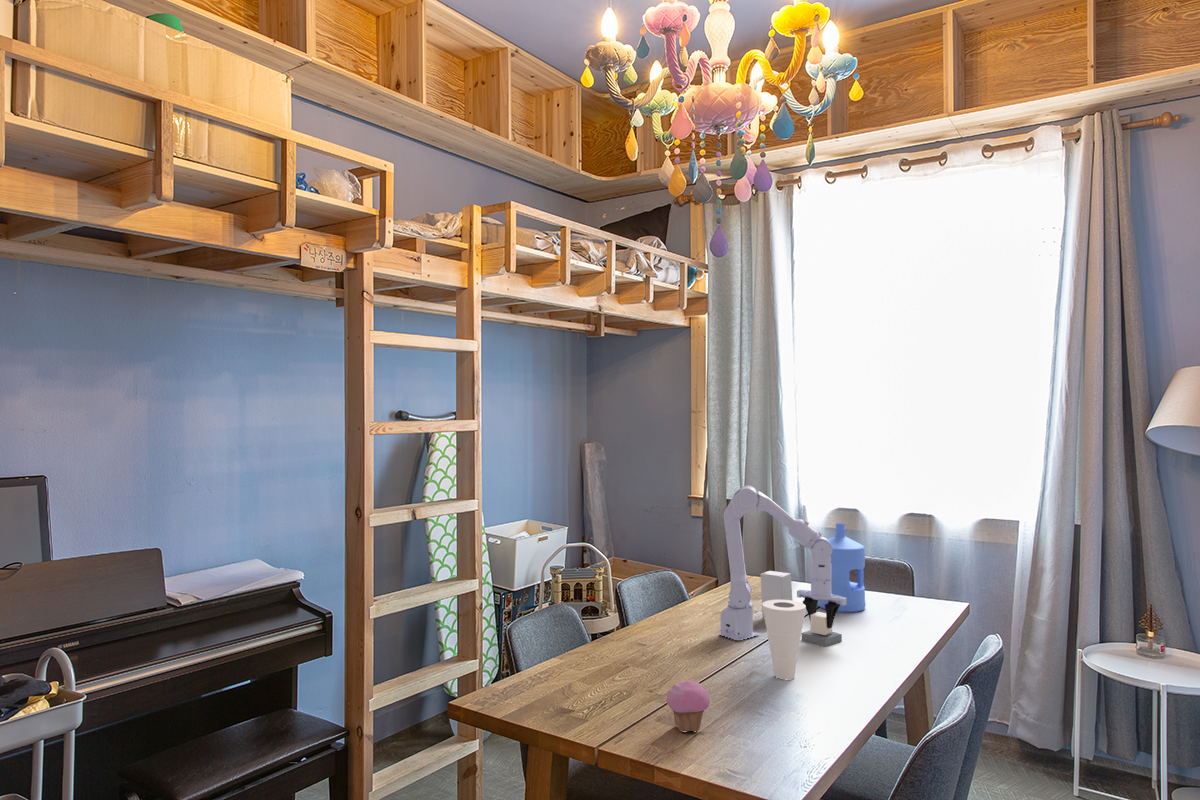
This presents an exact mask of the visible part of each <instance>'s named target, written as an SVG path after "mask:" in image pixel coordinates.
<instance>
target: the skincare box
mask: <svg viewBox="0 0 1200 800" xmlns="http://www.w3.org/2000/svg"><path fill="white" fill-rule="evenodd" d="M792 586H793V585H792V573H789V572H781V571H775V570H768V571H765V572H762V573H760V589H761V590H760V591H761V592H760V594H761V604H762V603H763V602H765V601H768V600H792V601H793V589H792ZM761 611H762V619H763V620H765V617H764V611H763V606H762V605H761Z"/></svg>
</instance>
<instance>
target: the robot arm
mask: <svg viewBox="0 0 1200 800" xmlns="http://www.w3.org/2000/svg"><path fill="white" fill-rule="evenodd" d="M755 507H756V509H755ZM753 509H755V510H756V511H760V512H761V511H762V512H767V513H768V514H769V515H771V516H772V517H773V518H775V520H777V521H779V522H780V523H781V524H783V525H784V526H785V527H786V528H787V529H788V535H789V536H790V537H792V538H793V539H794V540H795V541H796V542H798V543H799V544H800V545H802V546H803V547H804V548H805V549H809V550H810V553H811V562H810V590H806V589H798V590H796V597H797V598H804V599H803V600H802V603H803V604H805V605H806V609H805V611H806V612H807V615H808V618H809V619H810V615H811V614H814V613H816V612H818V611H817V610H818V604H817V603H818V600H819V601H824V602H828V603H827V604H825V609H824V610H825V613H826V616H827V628H832V629H833V625H834V621H835V617H836V614H837V613H838V612H837V610H838V608H839V607H840V605H843V606H844V605H846V604H847V598H846V597H841V596H838V595H834V594H831V563H830V561H831V557H830V556H831V554H832V547H831V544H830V542H829V541H828V539H829V538H827V536H824V535H823V533H822V532H821V531H817V530H816V529H814V528H813V527H812V526H811V525H809V524H810V522H809V521H808V520H806V519H805V520H804V519H802V518H801V519H800V518H797V519H796V518H794V517H792V516H791V515H790V514H789V513H788V512H787V511H785V510H784V509H783V508H782V507H781V506H780V505H778V503H776V502H775V501H774V500H773V499H771V498H770V497H769V496H767V494H764V493H763V492H761V491H760V490H757V489H756V488H755V487H754V486H752V485H749V484H748V485H743V486H742V487H740V488H739V489H737V490H736V491H735V493H734V494H733V496H732V498H731V499H730V502H729V503H728V505H727V507H726V508H725V510H724V512H723V522H724V532H725V542H726V547H727V548H726V550H727V555H728V556H727V557H728V565H729V574H730V579H729V580H730V588H729V589H730V590H729V592H728V599H729V601H728V602H727V607H726V608H723V609H722V610H721V613H720V632H719V633H718V636H719V635H722V636H725V637H724V638H726V637H728V638H727V639H729V638H731V639H730V640H732V639H735V640H742V641H744V640H743V639H745V640H748V639H747V638H749V639H751V638H750V637H752V638H755V637H754V636H756V637H758V636H757V635H759V636H760V633H757V632H754V628H753V627H754V622H753V621H754V616H753V615H754V614H753V613H754V612H753V611H754V610H753V609H754V608H753V607H754V606H753V605H754V604H753V602H752V601H751V600H752V599H751V598H752V586H751V584H750V582H749V581H748V577H747V573H746V565H745V553H744V547H743V537H742V530H741V522H740V521H741V518H743V516H744V515H745V514H746V513H747V512H749V511H750V510H753ZM722 636H721V637H722ZM735 640H734V641H735Z"/></svg>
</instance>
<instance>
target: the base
mask: <svg viewBox="0 0 1200 800" xmlns="http://www.w3.org/2000/svg"><path fill="white" fill-rule="evenodd" d="M842 635H843V634H842V633H839V632H835V631H832V632H831V633H829V634H827V635H821V634H817V633H812V632H811V629H809V630H807V631H804V632H803V631H802V634H801V641H804V640H805V642H807V641H808V643H811V642H812V644H814V643H815V645H818V644H819V645H818V646H821V645H823V646H822V647H828V646H831V645H833V643H834V644H837V643H840V642H842V641H843V639H842V638H843V637H842ZM839 641H840V642H839ZM836 642H837V643H836ZM830 644H831V645H830ZM827 645H828V646H827Z"/></svg>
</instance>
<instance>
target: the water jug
mask: <svg viewBox="0 0 1200 800" xmlns="http://www.w3.org/2000/svg"><path fill="white" fill-rule="evenodd" d="M827 539H828V541H829V542H830V544H831V547H832V554H831V556H830V557H831V561H830V563H831V594H834V595H838V596H841V597H846V598H847V604H846V605H844V606H843V605H840V607H839V608H838V610H837V612H836V613H857V612H861V611H863V610H865V608H866V586H865V585H864V584H865V583H864V582H865V581H864V568H865V567H866V566H865V564H866V562H865V560H866V552H865V551H866V550H865V546H864V545H863V544H861V543H860V542H857V541H855V540H853V539H852V538H850V537H847V535H846V524H845V523H835V535H834V536H833V537H830V538H827ZM854 570H857V582H854V581H850V572H851V571H854ZM827 603H828V602H824V601H819V600H818V603H817V607H820V608H821V609H823V610H826V609H825V604H827Z"/></svg>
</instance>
